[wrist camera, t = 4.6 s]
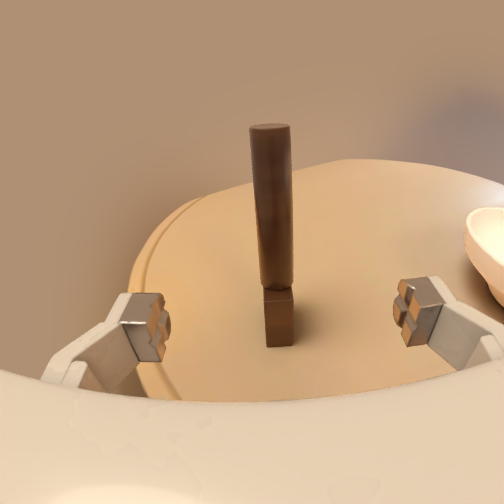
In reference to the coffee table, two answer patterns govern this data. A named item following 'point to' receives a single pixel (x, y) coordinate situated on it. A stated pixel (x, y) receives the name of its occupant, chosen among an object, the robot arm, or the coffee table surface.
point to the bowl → (487, 247)
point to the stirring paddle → (274, 227)
